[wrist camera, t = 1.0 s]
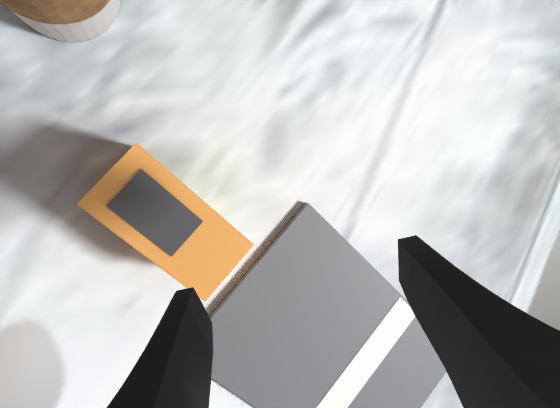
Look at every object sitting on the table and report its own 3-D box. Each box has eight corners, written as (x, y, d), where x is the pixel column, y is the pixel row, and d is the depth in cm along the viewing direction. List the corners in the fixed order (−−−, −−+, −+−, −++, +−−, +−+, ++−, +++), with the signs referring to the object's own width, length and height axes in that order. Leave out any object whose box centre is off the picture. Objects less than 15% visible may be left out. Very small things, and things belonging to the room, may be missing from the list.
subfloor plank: (363, 477, 31) (367, 484, 30) (178, 352, 25) (178, 357, 24) (454, 349, 33) (460, 352, 33) (305, 202, 27) (308, 203, 26)
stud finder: (194, 270, 25) (205, 302, 19) (97, 194, 22) (75, 204, 16) (232, 227, 25) (254, 245, 19) (141, 148, 23) (136, 142, 17)
